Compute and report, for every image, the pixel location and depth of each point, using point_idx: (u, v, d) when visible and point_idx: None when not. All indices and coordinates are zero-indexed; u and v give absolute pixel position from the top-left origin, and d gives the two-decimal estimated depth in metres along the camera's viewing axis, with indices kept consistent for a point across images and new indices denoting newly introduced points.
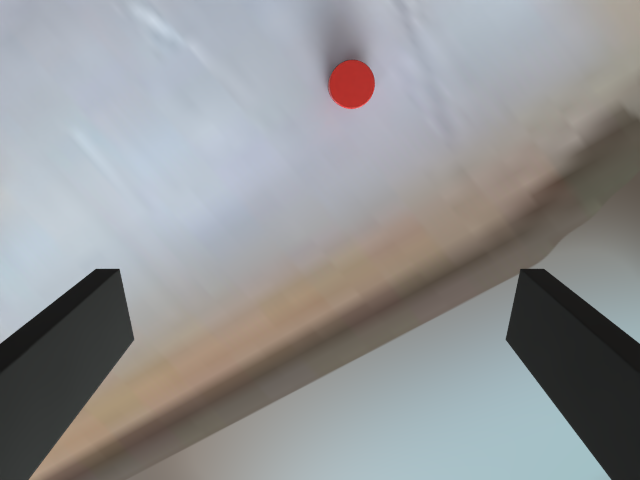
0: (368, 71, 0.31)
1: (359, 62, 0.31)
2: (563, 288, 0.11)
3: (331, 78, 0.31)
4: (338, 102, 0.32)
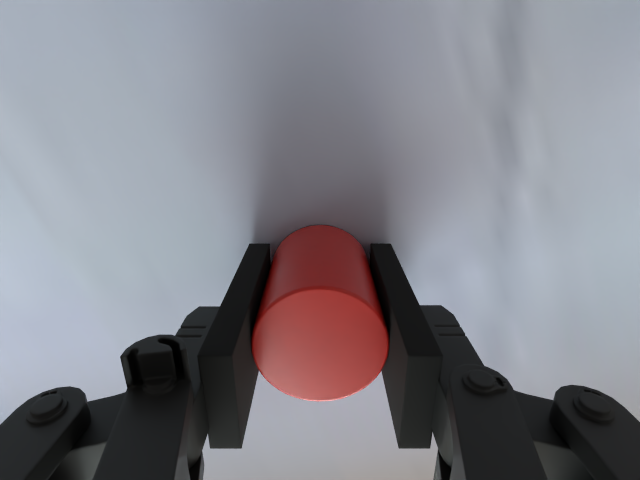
0: (380, 333, 0.10)
1: (363, 305, 0.10)
2: (392, 257, 0.13)
3: (265, 315, 0.10)
4: (265, 375, 0.11)
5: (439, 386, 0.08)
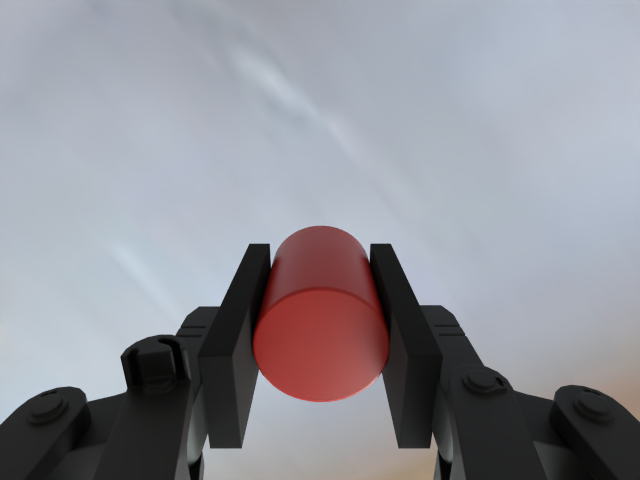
0: (381, 334, 0.10)
1: (364, 305, 0.10)
2: (392, 257, 0.13)
3: (266, 315, 0.10)
4: (267, 376, 0.11)
5: (439, 386, 0.08)
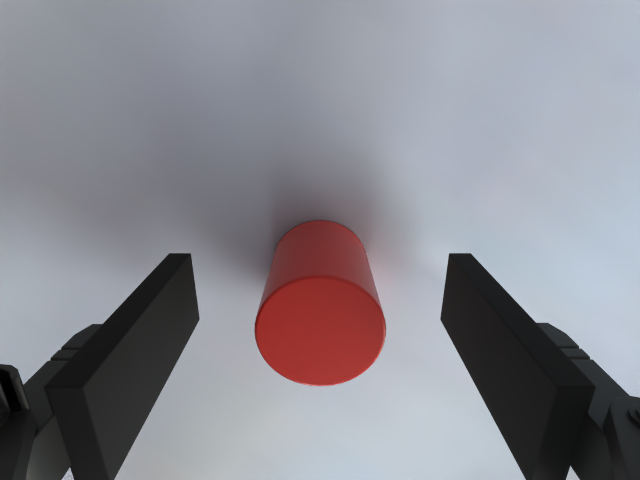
0: (376, 320, 0.11)
1: (361, 292, 0.10)
2: (480, 269, 0.12)
3: (268, 302, 0.11)
4: (268, 360, 0.11)
5: (590, 420, 0.07)
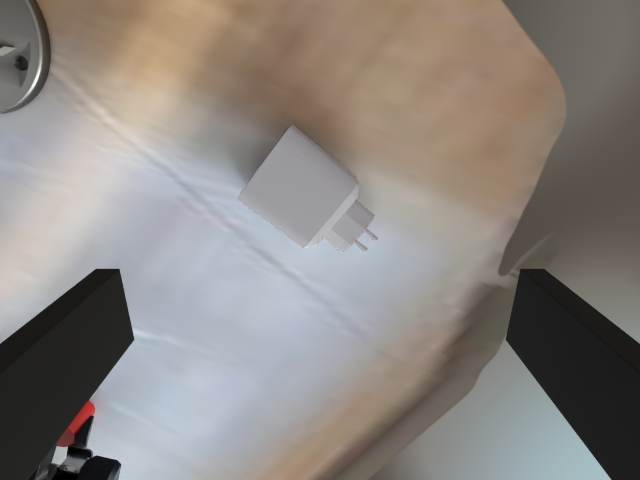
0: (71, 433, 0.50)
1: None
2: (563, 288, 0.11)
3: None
4: None
5: None
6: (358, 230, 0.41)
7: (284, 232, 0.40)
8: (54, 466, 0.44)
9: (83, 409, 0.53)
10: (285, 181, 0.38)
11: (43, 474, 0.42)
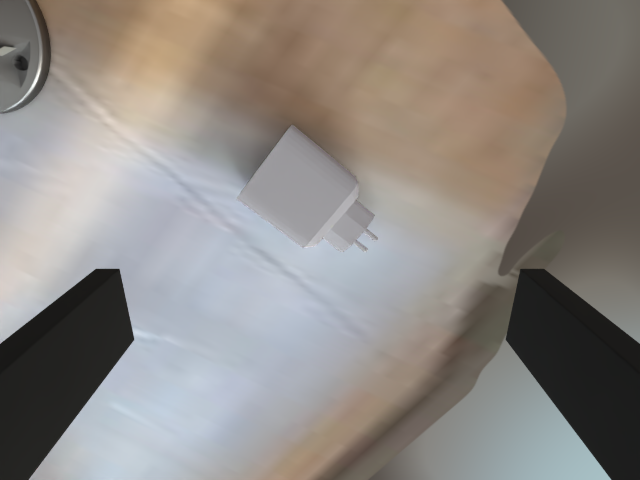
0: None
1: None
2: (563, 288, 0.11)
3: None
4: None
5: None
6: (358, 230, 0.41)
7: (284, 232, 0.40)
8: None
9: None
10: (285, 181, 0.38)
11: None
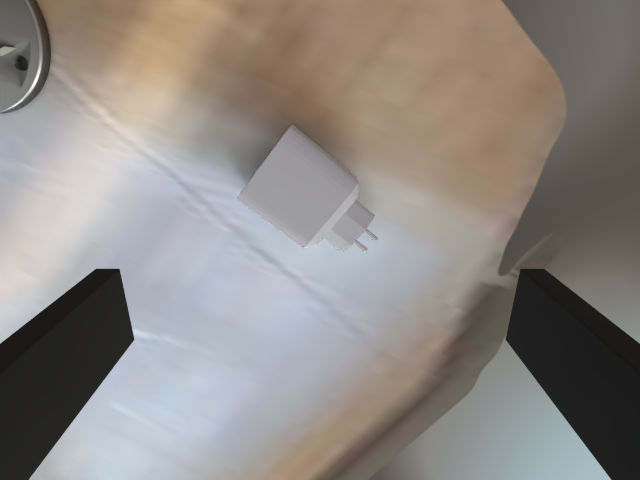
0: None
1: None
2: (563, 288, 0.11)
3: None
4: None
5: None
6: (358, 230, 0.41)
7: (284, 232, 0.40)
8: None
9: None
10: (285, 181, 0.38)
11: None
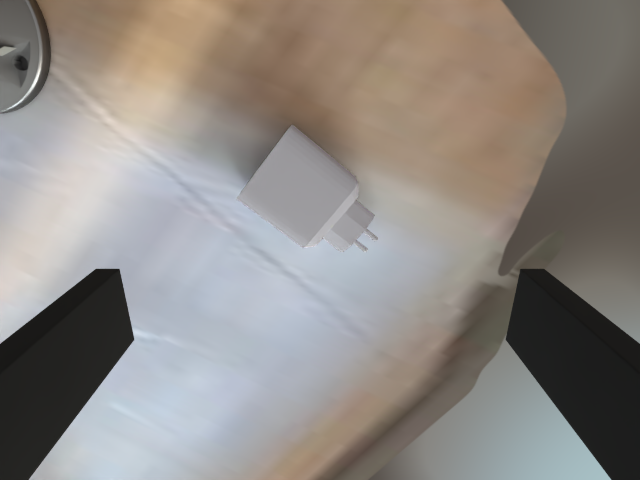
0: None
1: None
2: (563, 288, 0.11)
3: None
4: None
5: None
6: (358, 230, 0.41)
7: (284, 232, 0.40)
8: None
9: None
10: (285, 181, 0.38)
11: None
